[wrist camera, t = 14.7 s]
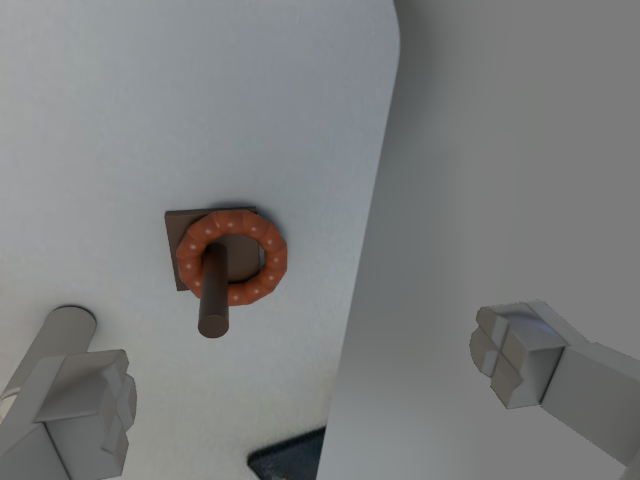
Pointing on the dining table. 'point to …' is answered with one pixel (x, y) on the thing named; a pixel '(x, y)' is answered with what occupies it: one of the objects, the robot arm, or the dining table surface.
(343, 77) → the dining table surface
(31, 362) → the beverage can
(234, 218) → the ring
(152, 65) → the dining table surface
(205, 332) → the post
